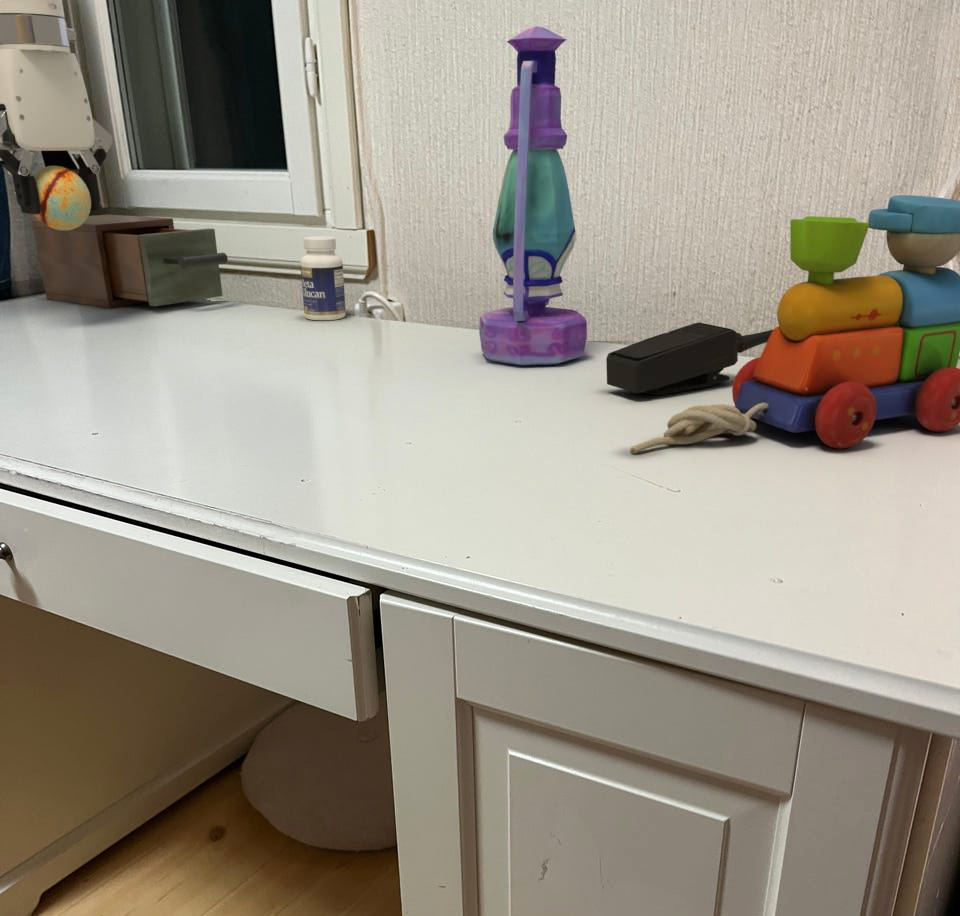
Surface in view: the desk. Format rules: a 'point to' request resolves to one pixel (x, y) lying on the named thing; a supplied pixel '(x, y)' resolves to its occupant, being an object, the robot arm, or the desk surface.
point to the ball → (62, 198)
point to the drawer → (163, 264)
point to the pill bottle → (322, 279)
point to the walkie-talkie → (679, 359)
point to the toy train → (853, 335)
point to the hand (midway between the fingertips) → (61, 210)
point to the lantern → (534, 219)
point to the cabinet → (84, 259)
